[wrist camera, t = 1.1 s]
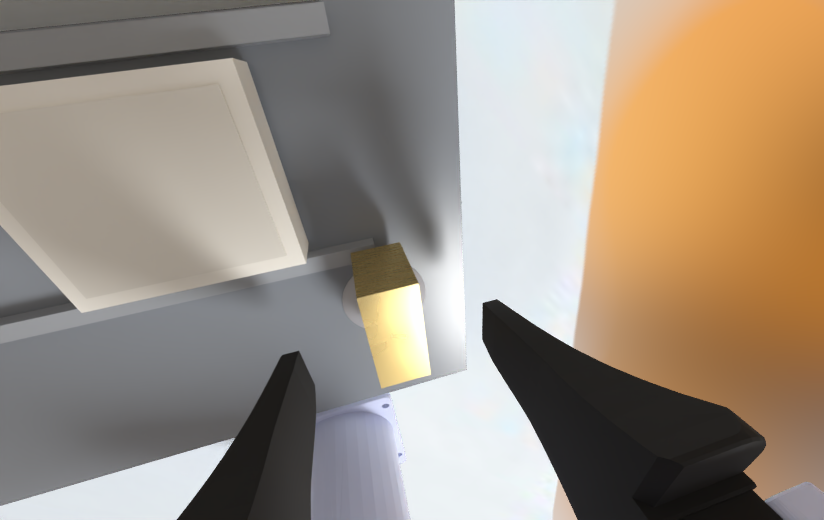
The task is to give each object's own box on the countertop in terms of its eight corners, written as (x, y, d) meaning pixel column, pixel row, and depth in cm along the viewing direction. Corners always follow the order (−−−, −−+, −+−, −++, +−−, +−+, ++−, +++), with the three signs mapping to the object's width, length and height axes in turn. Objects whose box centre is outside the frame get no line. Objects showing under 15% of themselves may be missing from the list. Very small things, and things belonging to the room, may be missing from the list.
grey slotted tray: (452, 340, 21) (473, 383, 18) (39, 454, 17) (-20, 530, 14) (430, 4, 11) (466, -23, 8) (-496, 103, 8) (-997, 115, 5)
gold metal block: (409, 314, 15) (430, 374, 12) (369, 323, 15) (381, 388, 12) (396, 234, 13) (418, 283, 10) (349, 244, 12) (356, 298, 9)
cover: (308, 243, 12) (305, 264, 10) (112, 284, 11) (79, 315, 9) (246, 61, 9) (230, 57, 7) (-39, 97, 8) (-122, 100, 6)
